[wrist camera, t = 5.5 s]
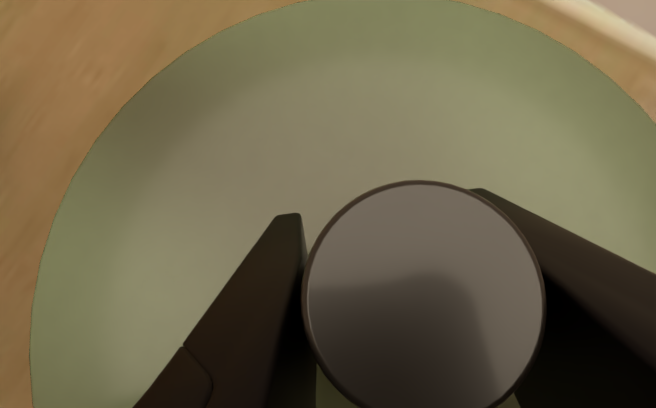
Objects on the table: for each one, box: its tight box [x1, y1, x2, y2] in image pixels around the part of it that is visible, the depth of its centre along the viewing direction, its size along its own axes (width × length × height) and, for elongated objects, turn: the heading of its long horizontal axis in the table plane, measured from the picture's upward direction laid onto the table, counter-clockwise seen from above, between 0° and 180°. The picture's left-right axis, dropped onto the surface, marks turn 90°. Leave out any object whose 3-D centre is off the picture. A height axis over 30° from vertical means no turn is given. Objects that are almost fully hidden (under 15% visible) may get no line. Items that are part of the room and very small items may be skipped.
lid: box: [29, 0, 656, 408], centre depth 9 cm, size 14×14×6 cm
